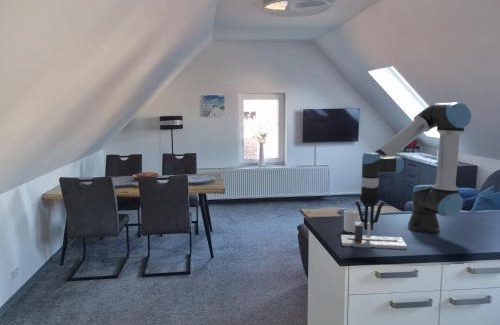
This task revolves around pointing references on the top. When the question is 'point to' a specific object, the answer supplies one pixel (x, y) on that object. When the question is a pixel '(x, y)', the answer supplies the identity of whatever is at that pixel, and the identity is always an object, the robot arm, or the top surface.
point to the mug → (351, 219)
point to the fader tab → (358, 230)
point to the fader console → (374, 242)
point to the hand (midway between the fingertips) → (368, 236)
